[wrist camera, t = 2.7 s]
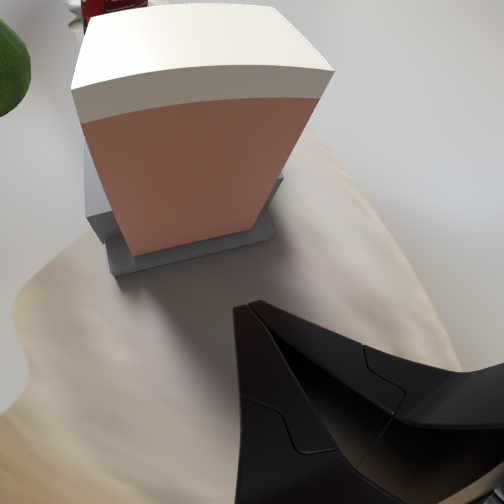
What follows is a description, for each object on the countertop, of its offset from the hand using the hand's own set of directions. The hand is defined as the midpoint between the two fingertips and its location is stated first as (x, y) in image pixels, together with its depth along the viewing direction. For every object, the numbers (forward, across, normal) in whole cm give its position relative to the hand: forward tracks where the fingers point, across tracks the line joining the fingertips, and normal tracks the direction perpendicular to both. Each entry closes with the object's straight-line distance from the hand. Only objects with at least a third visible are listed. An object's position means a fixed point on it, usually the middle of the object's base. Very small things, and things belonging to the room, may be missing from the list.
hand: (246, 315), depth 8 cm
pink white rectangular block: (+10, 0, 0) cm, 10 cm away
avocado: (+24, +16, -11) cm, 31 cm away
